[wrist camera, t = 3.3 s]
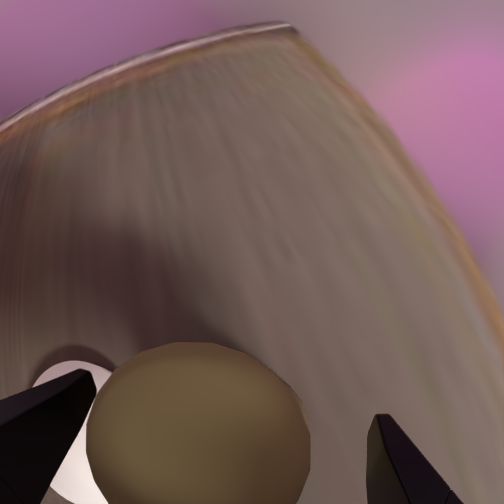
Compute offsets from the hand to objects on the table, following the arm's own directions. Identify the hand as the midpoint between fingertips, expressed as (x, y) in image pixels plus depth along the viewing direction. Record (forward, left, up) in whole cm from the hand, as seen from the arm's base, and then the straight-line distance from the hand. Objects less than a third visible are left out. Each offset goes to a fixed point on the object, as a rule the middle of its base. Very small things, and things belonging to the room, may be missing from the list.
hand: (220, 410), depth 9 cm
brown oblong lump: (-1, -1, -7) cm, 7 cm away
